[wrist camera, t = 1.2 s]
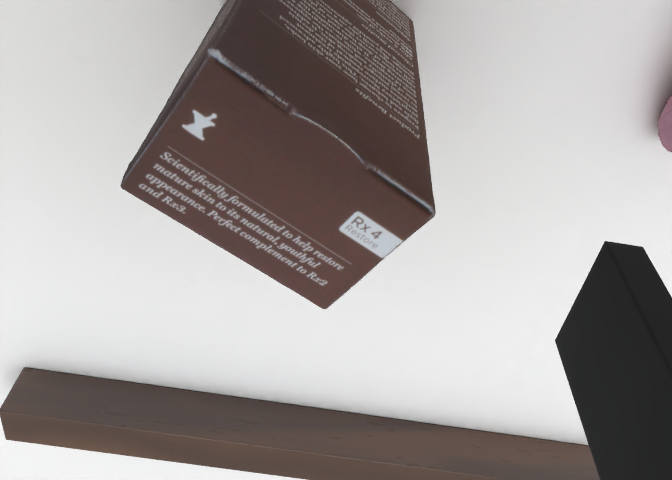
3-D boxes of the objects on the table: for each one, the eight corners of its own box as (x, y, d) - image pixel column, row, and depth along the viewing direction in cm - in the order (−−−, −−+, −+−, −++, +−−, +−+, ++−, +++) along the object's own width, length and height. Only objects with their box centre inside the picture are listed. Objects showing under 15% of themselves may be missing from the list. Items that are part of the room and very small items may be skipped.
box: (215, 15, 24) (106, 189, 14) (287, -91, 21) (216, 28, 12) (343, 112, 26) (325, 321, 16) (420, 24, 23) (453, 206, 14)
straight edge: (23, 367, 36) (-2, 410, 33) (596, 446, 37) (612, 493, 35) (29, 396, 37) (5, 439, 35) (580, 471, 39) (594, 517, 37)
